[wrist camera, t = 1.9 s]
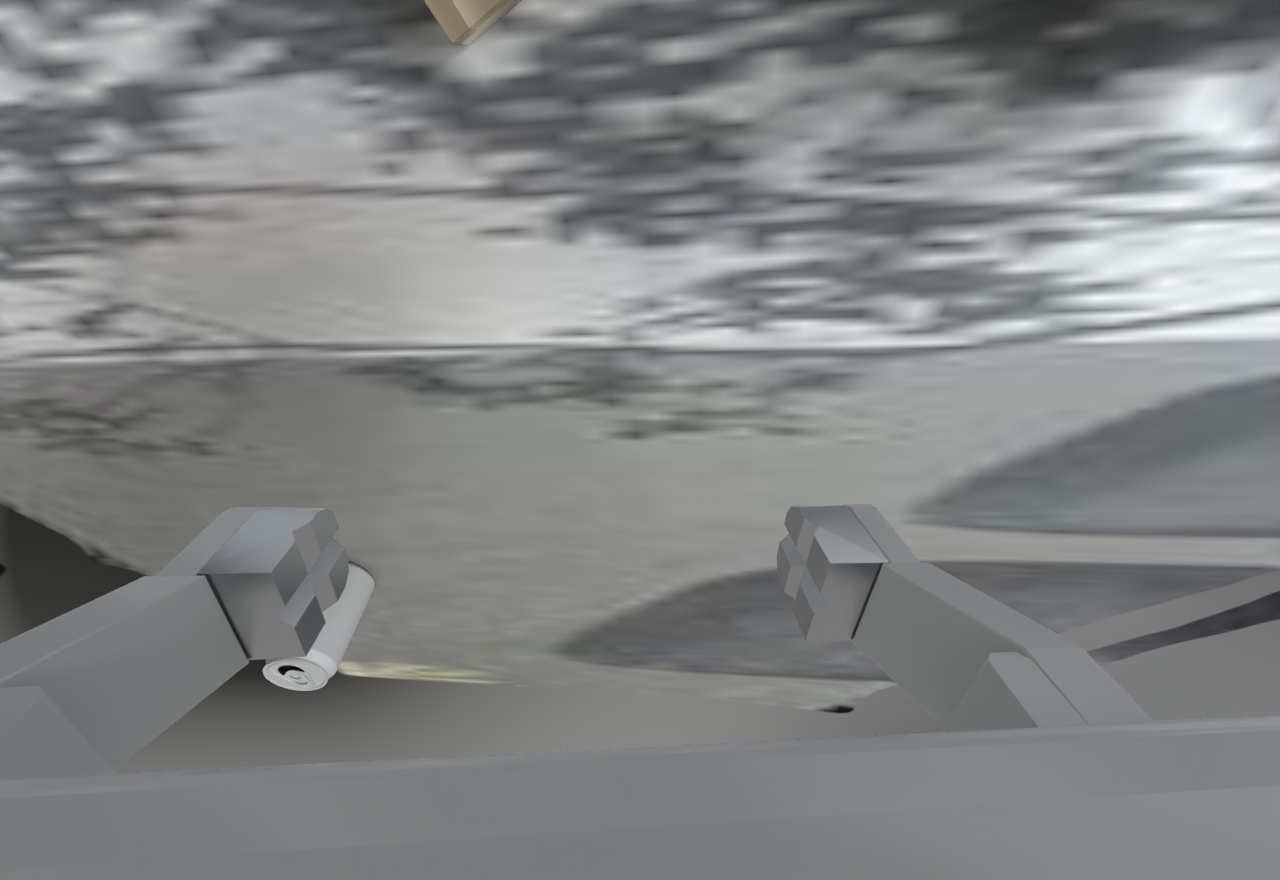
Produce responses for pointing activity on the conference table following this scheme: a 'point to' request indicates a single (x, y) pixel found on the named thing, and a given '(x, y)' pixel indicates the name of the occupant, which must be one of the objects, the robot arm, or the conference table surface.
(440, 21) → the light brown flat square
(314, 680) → the beverage can
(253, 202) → the conference table surface
